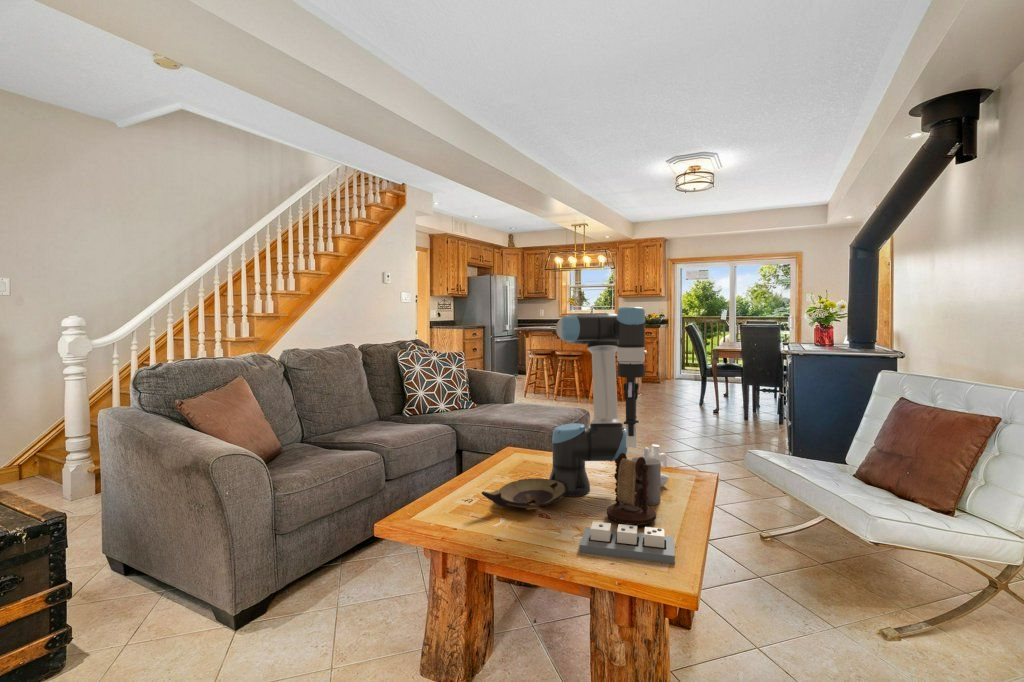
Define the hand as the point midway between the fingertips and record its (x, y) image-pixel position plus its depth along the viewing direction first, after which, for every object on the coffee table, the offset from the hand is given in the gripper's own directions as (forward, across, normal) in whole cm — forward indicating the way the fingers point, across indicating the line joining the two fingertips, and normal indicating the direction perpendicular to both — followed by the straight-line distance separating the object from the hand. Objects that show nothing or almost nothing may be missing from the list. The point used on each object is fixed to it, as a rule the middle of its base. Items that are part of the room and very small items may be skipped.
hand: (631, 446), depth 141 cm
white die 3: (+24, -7, -6) cm, 25 cm away
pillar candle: (+26, +31, -3) cm, 41 cm away
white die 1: (+24, -7, +8) cm, 26 cm away
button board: (+26, -7, +1) cm, 27 cm away
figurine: (+25, +48, -6) cm, 55 cm away
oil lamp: (+26, +17, +36) cm, 47 cm away
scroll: (+26, +13, +1) cm, 29 cm away
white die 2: (+24, -7, +1) cm, 25 cm away
